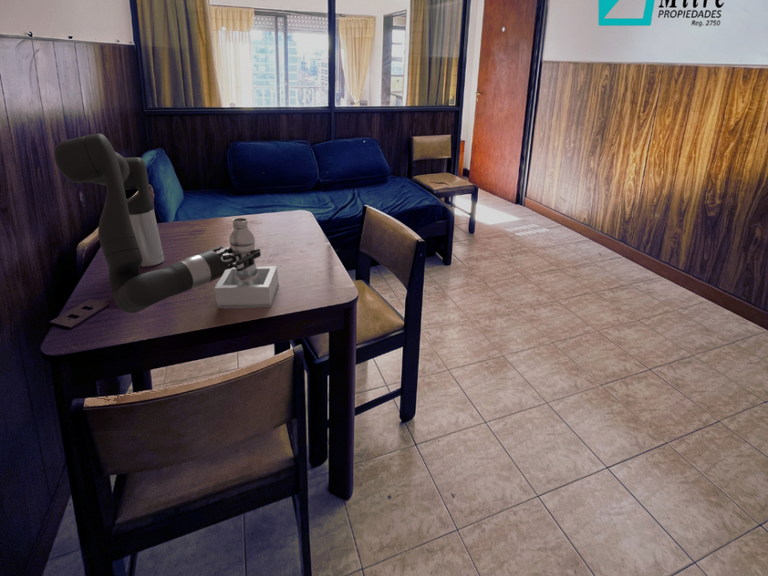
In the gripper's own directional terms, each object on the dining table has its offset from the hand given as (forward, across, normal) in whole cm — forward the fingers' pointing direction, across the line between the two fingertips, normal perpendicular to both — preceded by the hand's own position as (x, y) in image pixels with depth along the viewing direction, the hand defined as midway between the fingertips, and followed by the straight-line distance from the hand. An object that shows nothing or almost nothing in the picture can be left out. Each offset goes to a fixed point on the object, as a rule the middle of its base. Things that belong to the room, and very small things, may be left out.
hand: (250, 249), depth 131 cm
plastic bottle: (-2, 0, +11) cm, 11 cm away
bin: (-2, 0, +13) cm, 13 cm away
